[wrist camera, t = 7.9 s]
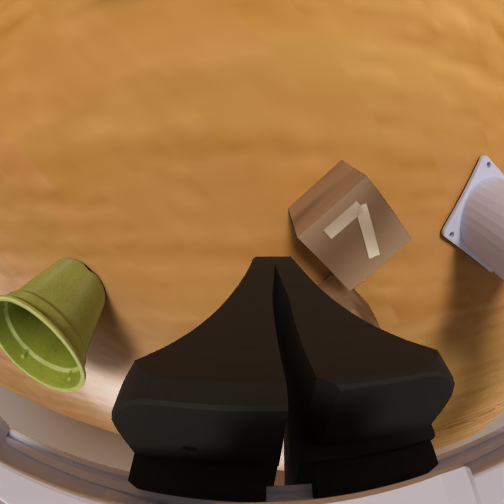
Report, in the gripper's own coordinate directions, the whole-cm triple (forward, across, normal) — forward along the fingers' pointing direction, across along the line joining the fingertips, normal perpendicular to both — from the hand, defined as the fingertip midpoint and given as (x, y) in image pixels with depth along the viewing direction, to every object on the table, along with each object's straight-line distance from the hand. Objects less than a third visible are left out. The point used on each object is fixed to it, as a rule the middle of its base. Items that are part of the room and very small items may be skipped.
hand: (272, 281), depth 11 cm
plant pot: (+11, +17, +8) cm, 21 cm away
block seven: (+10, -5, +1) cm, 12 cm away
